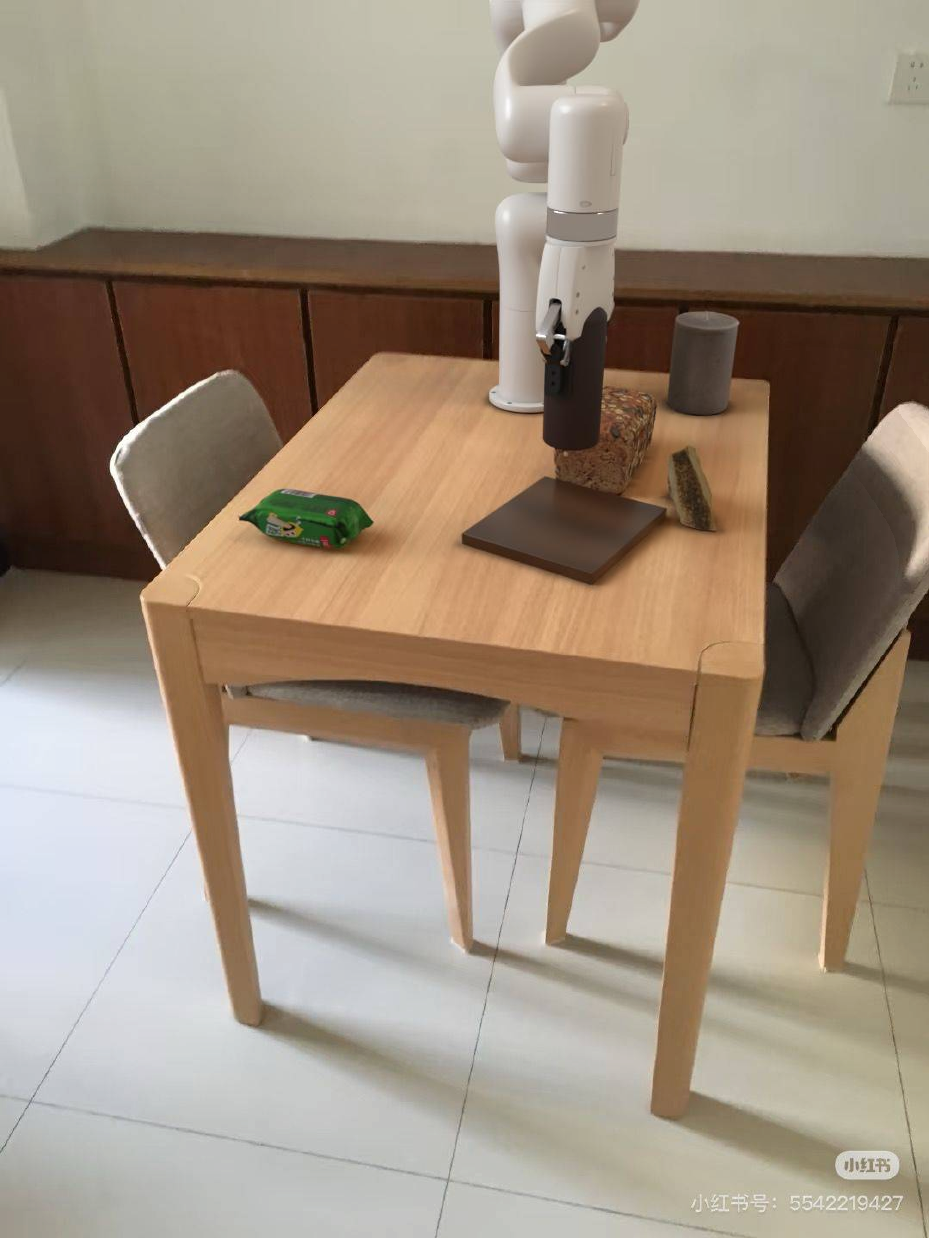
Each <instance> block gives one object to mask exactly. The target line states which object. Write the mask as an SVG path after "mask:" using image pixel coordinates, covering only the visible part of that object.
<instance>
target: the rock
mask: <svg viewBox="0 0 929 1238" xmlns="http://www.w3.org/2000/svg"><path fill="white" fill-rule="evenodd" d="M698 455H699V454H697V450H696V447H694V446H693V445H691V444H687V445H686V446H685V447H683V448H682V449H680V450H678V451H675V452H672V453H669V457H668V458H669V459H668V460H667V486H668V493H669V496H670V498H671V499H672V501H673V504H674V506H675V508H676V513H677V515H678V518H679V521H680V524H682V525H683V526H686V527H689V528H693V529H696V530H701V531H711V532H717V530H718V528H717V526H715V516H714V513H713V503H712V502H713V494H712V490H711V488H710V486H709V483H708V480H707V479H708V478H707V476H706V475H705V472H704V471H703V468H702V463H701V460H700V457H699V456H698Z"/></svg>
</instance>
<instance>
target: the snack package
mask: <svg viewBox="0 0 929 1238" xmlns="http://www.w3.org/2000/svg"><path fill="white" fill-rule="evenodd" d="M237 517H238V521H239V522H247V523H250V524H252V525H253V526H254V527H255V528H257V530H258V531H259V532H260V533H262V534H263V535H266V536H267V537H269V538H272V539H275V540H279V541H283V542H286V543H292V544H298V545H302V546H309V547H316V548H321V549H322V548H323V549H327V550H338V549H343V548H344V547H346V546H347V545H348V544H349V543H351V542H352V541H355V540H356V539H357V537H358V535H359V534H361V533H362V531H364V530H366V529H367V528H371V527H372V525H374V523H375V522H374V520H373V519H372V518H371V517H370V516H369V514H368V513H367V511H366V510H365V509H364V508H363V507H362V505H361V504H360V503H358V501H356V500H353V499H351V498H347V497H343V496H342V497H341V496H334V495H328V494H327V495H326V494H323V493H322V494H321V493H316V492H313V491H306V490H300V489H294V488H280V489H277V490H274V491H272V492H271V493H270V494H269V495H267V496H265V497H264V498H262V499H261V500H260V501H259V503H258V504H257V505H256V506H254V507H253V508H251V509H250V510H248V511H246V512H244V513H243V514H242V515H237Z"/></svg>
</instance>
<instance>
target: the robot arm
mask: <svg viewBox="0 0 929 1238" xmlns="http://www.w3.org/2000/svg"><path fill="white" fill-rule="evenodd" d="M640 1H641V0H488V10H489V19H490V20H489V21H490V24H491V25H490V26H491V29H492V33H493V37H494V40H495V44H496V47H497V50H498V52H499V53H498V54H499V56H500V60H499V62H498V65H497V67H496V71H495V75H494V79H493V80H494V81H493V91H492V94H493V95H492V96H493V97H492V99H493V100H492V101H493V111H494V113H493V114H494V127H495V132H496V133H495V135H496V140H497V145H498V147H499V149H500V151H501V153H502V155H503V156H504V157H505V164H506V170H507V173H508V174H509V176H510V177H511V178H512V179H513V180H515V181H517V182H520V183H527V184H547V191H544V192H543V191H539V192H537V191H536V192H535V191H534V192H520V193H515V194H512V195H509V196H508V197H506V198H504V199H502V201H501V202H500V203H498V206H497V207H496V210H495V213H494V235H495V241H496V249H497V259H498V269H499V271H498V274H499V328H498V329H499V338H498V339H499V341H498V344H499V345H498V347H499V348H498V349H499V350H498V384H497V385H495V386H493V387H492V388H491V389H490V390H489V391H488V392H489V393H488V399H489V402H490V403H491V404H492V405H493V406H494V407H496V408H499V409H501V410H504V411H509V412H514V413H523V414H524V413H526V414H529V413H530V414H532V413H543V408H544V394H545V395H546V396H550V397H554V398H559V399H563V400H567V399H569V398H570V397H571V382H572V364H568V363H569V360H570V356H571V352H572V348H573V344H574V340H575V339H577V338H579V337H580V336H581V333H582V329H583V325H584V322H585V320H586V319H587V317H588V316H589V315H590V314H591V312H592V311H593V310H594V309H595V308H597V307H601V308H603V309H604V310H605V311H606V313H607V330H608V328H609V326H610V323H611V321H610V319H611V317H612V314H613V311H614V309H615V300H614V297H615V296H614V294H615V271H616V270H615V243H616V242H617V239H618V224H619V209H620V198H621V197H620V195H621V179H622V165H623V151H624V150H623V149H624V145H625V144H626V143H627V142H626V141H627V139H628V135H629V128H630V120H629V119H630V111H629V109H630V108H629V105H628V103H627V102H625V100H624V97H623V95H622V94H621V92H620V91H619V90H618V89H616V87H614V86H609V85H601V84H600V85H598V84H595V85H594V84H591V85H590V84H588V85H574V84H567V82H568V80H569V79H571V78H572V77H575V76H577V75H578V74H580V73H582V72H583V71H584V70H585V69H587V68H588V67H589V66H590V65H591V63H592V62H593V61H594V59H595V57H596V56H597V53H598V51H599V47H600V44H601V43H607V42H611V41H613V40H614V39H616V38H617V37H618V36H619V35H620V34H621V33H622V32H623V31H624V30H625V28H626V27H627V26H628V25H629V24H630V23H631V22H632V20H633V18H634V17H635V15H636V13H637V10H638V8H639V5H640ZM559 322H562V323H563V326H564V328H566V334H565V335H562V334H557V333H555V330H556V328H557V326H558V324H559ZM555 340H559V341H564V342H565V343H564V347H563V351H561V349H560V347H559V346H558V345H557V344H555ZM607 341H608V336H607V334H606V342H607Z"/></svg>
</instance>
